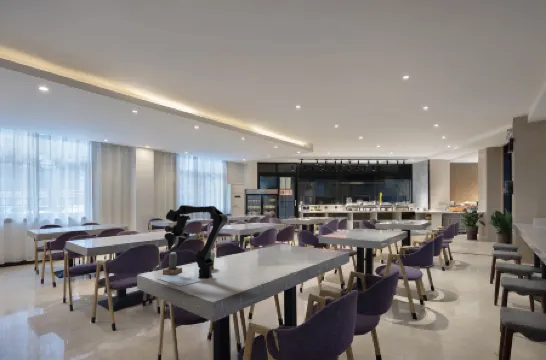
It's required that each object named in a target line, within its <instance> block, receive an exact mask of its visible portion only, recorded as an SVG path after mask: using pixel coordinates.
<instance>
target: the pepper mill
mask: <svg viewBox="0 0 546 360" xmlns="http://www.w3.org/2000/svg"><path fill="white" fill-rule="evenodd" d="M168 256H169V257H168V258H169V259H168V268H169V270H176V267H177V264H178V263H177V260H178V259H177V258H178V255H177V253H176V252H175V251H174V252H173V251H172V252H170V254H168Z"/></svg>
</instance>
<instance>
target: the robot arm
mask: <svg viewBox="0 0 546 360" xmlns="http://www.w3.org/2000/svg"><path fill="white" fill-rule="evenodd" d="M195 213H209V215H210V217H211V218H212V229H211V231H210V233H209V235H208V237H207V240H206V241H205V244H204V246H203V248H202V249H198V250H197V253H196V255H195V261H196V263H197V267H198V268H199V269H198V278H199V279H210V278H211V277H213V274H212V271H213V269H212V265H213V261H212V260H211V258H210V256H211V252H212V249H213V247H214V244H215V242H216V240H217V238H218V236H219V234H220V231H221V230H222V229H223V228H224V227H225V225H226V224H227V222H228V220H229V219H228V216H227V215H226V214H224V213H223V212H222V211H220V210H219V209H218V208H217V207H216V206H214V205H209V206H194V205H188V204H183V205H182V204H181V205H180V206H179V207H178V209H177V210H175V209H169V211H168V212H167V214H166V215H165V218H166V220H167V221H170V222H173V223H175V224H174V225H173V226H171V225H165V227H164V231H165V232H166V233H164V237H163V238H164V239H165V240H167V250H168V251H170V250H171V249H172V248H173V246H174V244H175V243H176V240H177V238H178V240H177V245H176V246H177V249H179V248H181V247H182V245H183V244H184V243H185V242H186V241H187V240H188V239H189V238H190V232H187V231H185V230H186V229H187V227H186V226H187V222H188V221H190V220H191V217H190V214H195Z"/></svg>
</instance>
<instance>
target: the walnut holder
mask: <svg viewBox="0 0 546 360" xmlns="http://www.w3.org/2000/svg"><path fill="white" fill-rule="evenodd" d="M181 272H183V267H180V266H178V267H177V266H176V270H169V267H167V268H164V269H162V274H163V275H179V274H180V273H181Z"/></svg>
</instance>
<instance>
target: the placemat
mask: <svg viewBox="0 0 546 360" xmlns="http://www.w3.org/2000/svg"><path fill="white" fill-rule="evenodd" d="M157 280H159V281H162V282H166V283H169V284H172V285H174V286H179V287H183V286H187V285H192V284H196V283H200V282H201V280H197V279H195V278H191V277H187V276H183V275H180V274H171V275H168V276H163V277H158V278H157Z"/></svg>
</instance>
